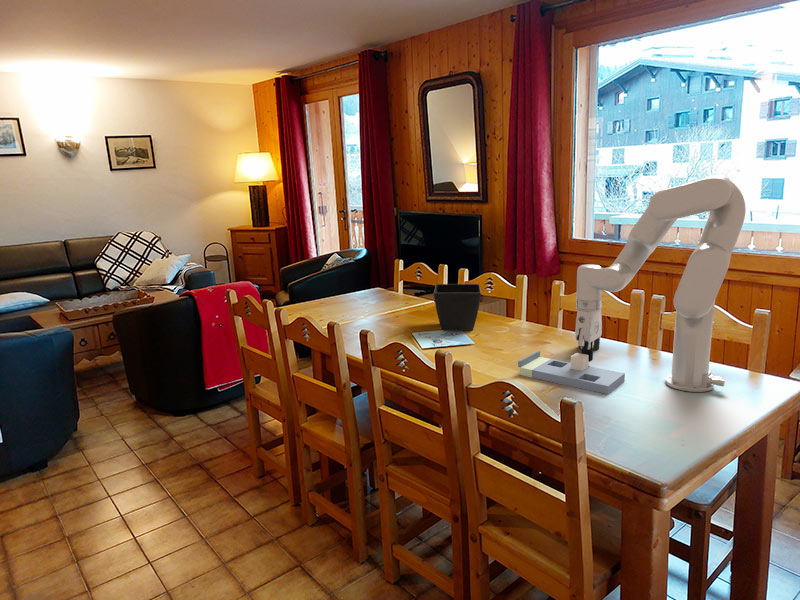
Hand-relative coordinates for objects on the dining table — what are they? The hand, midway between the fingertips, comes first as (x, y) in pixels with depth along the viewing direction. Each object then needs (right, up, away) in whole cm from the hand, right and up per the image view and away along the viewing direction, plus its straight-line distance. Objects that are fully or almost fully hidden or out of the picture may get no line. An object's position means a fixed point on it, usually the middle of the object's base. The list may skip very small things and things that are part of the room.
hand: (586, 360), depth 181 cm
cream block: (-4, -2, -4) cm, 6 cm away
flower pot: (-35, +8, +58) cm, 68 cm away
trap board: (-7, -5, -5) cm, 10 cm away
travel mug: (+8, +2, +23) cm, 25 cm away
